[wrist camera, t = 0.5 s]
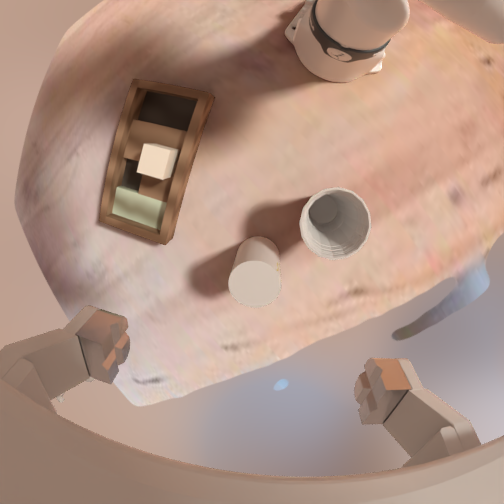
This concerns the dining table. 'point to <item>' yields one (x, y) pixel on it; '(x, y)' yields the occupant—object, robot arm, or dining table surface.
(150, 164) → the block
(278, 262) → the beige cylinder
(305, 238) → the plastic cup
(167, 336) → the dining table surface
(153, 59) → the dining table surface
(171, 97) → the box
